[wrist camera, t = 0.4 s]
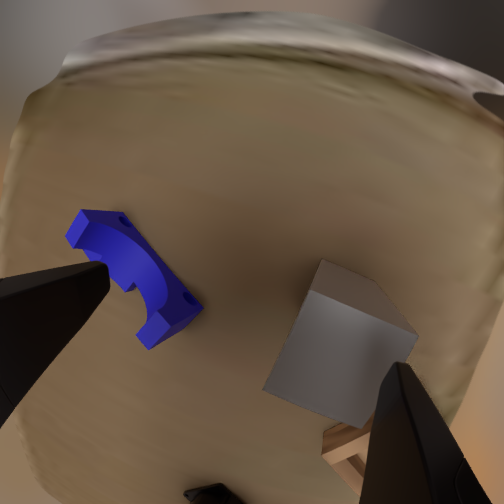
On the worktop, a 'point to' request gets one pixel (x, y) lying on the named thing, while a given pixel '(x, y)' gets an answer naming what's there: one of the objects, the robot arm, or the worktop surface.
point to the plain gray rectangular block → (341, 347)
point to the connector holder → (348, 451)
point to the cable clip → (135, 271)
